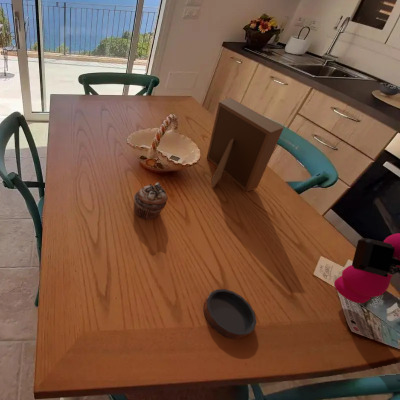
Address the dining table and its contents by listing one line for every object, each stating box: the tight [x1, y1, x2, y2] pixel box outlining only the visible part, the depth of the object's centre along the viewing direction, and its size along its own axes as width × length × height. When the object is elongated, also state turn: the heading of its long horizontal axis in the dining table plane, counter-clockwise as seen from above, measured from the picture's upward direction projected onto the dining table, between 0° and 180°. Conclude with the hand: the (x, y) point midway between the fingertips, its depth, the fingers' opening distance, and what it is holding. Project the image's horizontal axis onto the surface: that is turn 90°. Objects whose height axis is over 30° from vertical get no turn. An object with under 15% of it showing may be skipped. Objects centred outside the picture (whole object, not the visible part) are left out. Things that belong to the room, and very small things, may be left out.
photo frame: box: [206, 97, 285, 193], centre depth 92 cm, size 15×22×25 cm
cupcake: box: [133, 182, 169, 221], centre depth 81 cm, size 10×10×10 cm
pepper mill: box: [333, 232, 400, 304], centre depth 56 cm, size 7×7×20 cm
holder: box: [202, 288, 257, 340], centre depth 60 cm, size 10×10×2 cm
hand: (377, 262), depth 58 cm, fingers closed on pepper mill, 5 cm apart
